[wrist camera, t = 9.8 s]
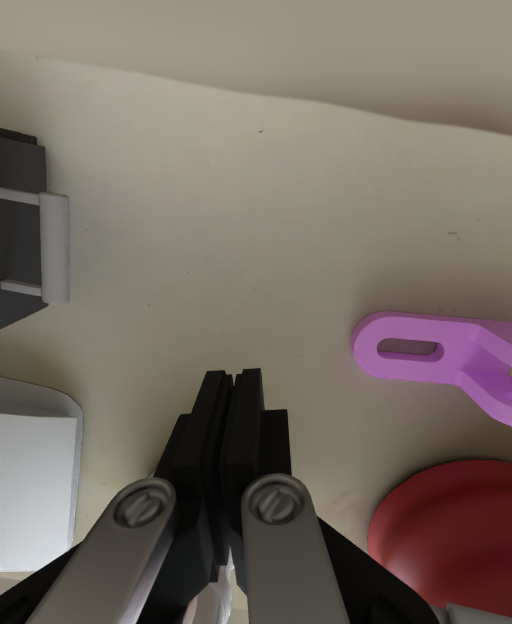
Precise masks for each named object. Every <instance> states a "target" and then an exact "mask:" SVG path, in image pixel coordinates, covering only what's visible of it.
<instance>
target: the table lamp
mask: <svg viewBox="0 0 512 624" xmlns="http://www.w3.org/2000/svg"><path fill="white" fill-rule="evenodd" d="M367 538H368V551H369V554H370V557H371V558H373V559H374V560H375V561H377V562H378V563H379V564H381V565H382V566H383V567H385V568H386V569H387V570H388V571H390V572H391V573H392V574H394V575H395V576H396V577H398V578H399V579H400V580H402V581H403V582H404V583H405V584H407V585H408V586H409V587H411V588H412V589H413V590H415V591H416V592H417V593H418V594H419V595H420V596H421V597H422V598H423V599H424V600H425V601H426V602H427V603H428V604H429V605H432V606H437V607H441V608H445V609H446V606H447V602H448V603H452V604H456V605H461V606H465V607H469V608H473V609H477V610H482V611H486V612H490V613H494V614H498V615H503V616H507V617H511V618H512V463H507V462H503V461H493V460H467V461H454V462H450V463H445V464H440V465H436V466H434V467H431V468H429V469H427V470H424V471H422V472H420V473H417V474H416V475H414V476H413V477H411V478H410V479H408V480H406V481H405V482H403V483H402V484H401V485H399V486H398V487H397V488H396V489H394V490H393V491H392V492H391V493H390V494H388V495H387V497H386V498H385V499H384V500H383V501H382V502H381V504H380V505H379V506H378V507H377V509H376V511H375V513H374V515H373V518H372V520H371V522H370V526H369V531H368V536H367Z"/></svg>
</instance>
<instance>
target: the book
mask: <svg viewBox="0 0 512 624" xmlns="http://www.w3.org/2000/svg"><path fill="white" fill-rule="evenodd" d="M83 422H84V418H83V414H82V410H81V407H80V406H79V405H78V404H77V403H76V402H75V401H74V400H73V399H72V398H71V397H70V396H69V395H66V394H64V393H62V392H60V391H57V390H55V389H51V388H47V387H43V386H38V385H34V384H30V383H26V382H21V381H17V380H13V379H9V378H4V377H0V571H1V572H16V571H38V570H39V569H41V568H42V567H44V566H45V565H47V564H49V563H50V562H52V561H53V560H55V559H56V558H58V557H59V556H61V555H62V554H64V553H65V552H67V551H68V550H69V549H70V547H71V546H72V542H73V531H74V520H75V510H76V499H77V488H78V477H79V466H80V455H81V444H82V433H83Z"/></svg>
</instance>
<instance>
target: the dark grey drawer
mask: <svg viewBox="0 0 512 624" xmlns="http://www.w3.org/2000/svg"><path fill="white" fill-rule="evenodd" d="M68 301H69V197H68V196H65V195H61V194H55V193H46V167H45V147H42V146H38V145H33V144H29V143H24V142H20V141H15V140H11V139H6V138H1V137H0V329H2V328H4V327H6V326H8V325H10V324H12V323H15V322H17V321H19V320H21V319H23V318H25V317H27V316H29V315H31V314H33V313H35V312H37V311H39V310H41V309H43V308H45V307H48V304H64V303H67V302H68Z"/></svg>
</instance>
